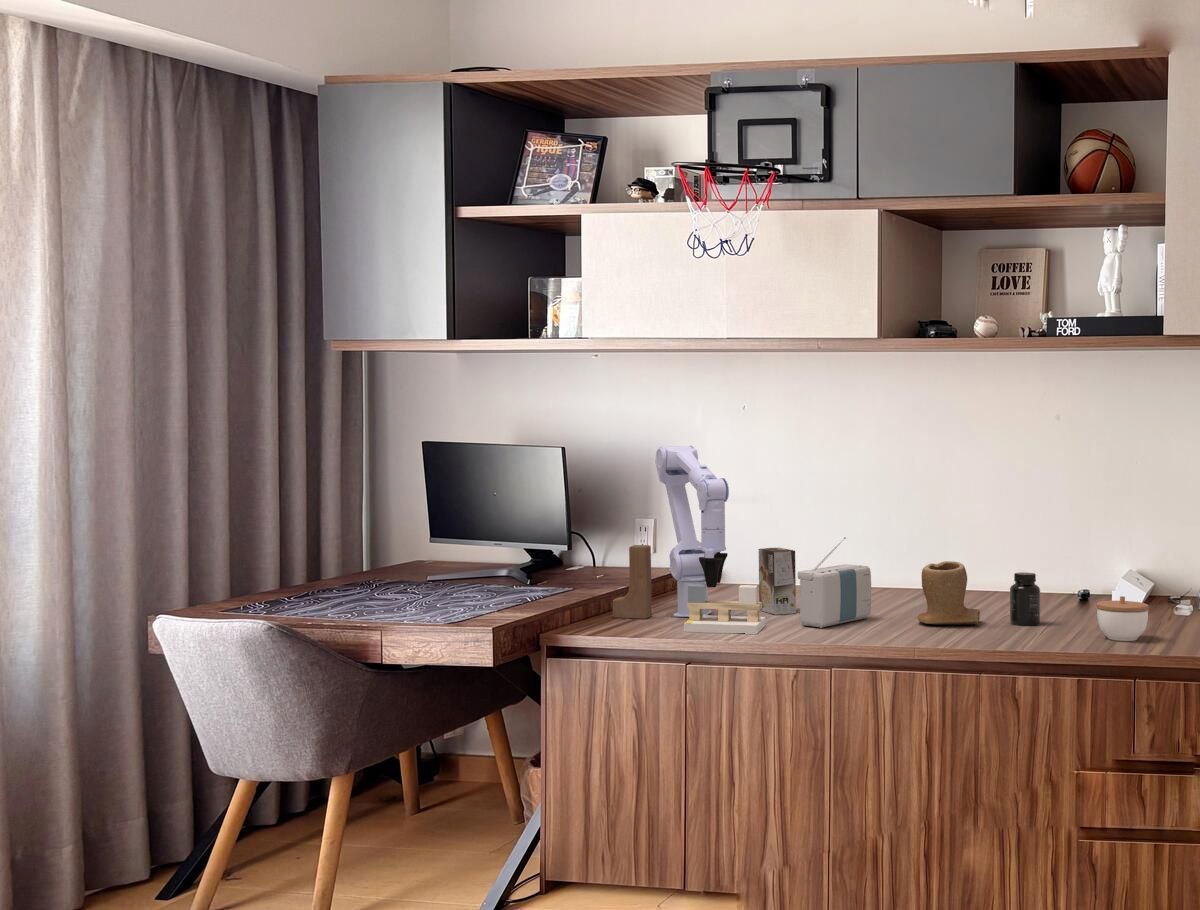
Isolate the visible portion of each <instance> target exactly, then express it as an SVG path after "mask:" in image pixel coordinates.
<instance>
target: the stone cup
mask: <svg viewBox="0 0 1200 910" xmlns="http://www.w3.org/2000/svg"><path fill="white" fill-rule="evenodd" d="M967 586H968V573H967V570H966V567H965V565H964V564H963V563H961V562H959V561H954V560H952V561H950V560H949V561H948V560H947V561H946V560H945V561H941V562H939V563H928V564H926V565H925V566H924V567H923V568H922V569H921V588H922V591H923V594H924V597H925V599H926V604H927V606H926V607H927V610H926V611H925V612H922V613H919V614H918V615H917V616H916V619H917V621H919V622H921V623H923V624H928V625H944V626H945V625H946V626H947V625H949V626H950V625H951V626H956V625H958V626H962V625H963V626H964V625H966V626H967V625H978V624H979V622H980V614H981V610H980V608H979V609H978V608H967V607H966V606H965V595H966V591H967Z"/></svg>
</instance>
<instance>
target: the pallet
mask: <svg viewBox="0 0 1200 910" xmlns="http://www.w3.org/2000/svg"><path fill="white" fill-rule="evenodd" d="M761 607H762V602H759V601H757V604H756V605H748V604H739V601H736V600H735V601H728V600H725V601H724V600H708V601H706V602H705V603H687V608H689V617H688V618H689V619H688V620H697V621H700V620H701V618H702V617H703V613H702V609H708V610H717V616H718V621H729V620H730V619H731V616H732V611H735V610H736V611H739V610H740V611H746V617H747V622H758V621H759V619H760V617H761V616H760V609H761Z"/></svg>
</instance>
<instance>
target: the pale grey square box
mask: <svg viewBox="0 0 1200 910" xmlns="http://www.w3.org/2000/svg"><path fill="white" fill-rule="evenodd" d="M705 602H706V584H689V585H688V603H705Z"/></svg>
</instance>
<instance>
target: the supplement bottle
mask: <svg viewBox="0 0 1200 910" xmlns="http://www.w3.org/2000/svg"><path fill="white" fill-rule="evenodd" d="M1013 577H1014V578H1013V582H1014V583H1013V584H1012V585H1011V586H1009V587H1010V588H1009V622H1010V624H1011V625H1014V626H1022V627H1035V626H1036V627H1037V626H1039V625H1040V624H1041V588H1040V586H1038V585H1037V584H1036V582H1037V578H1036V577H1037V574H1036V573H1035V572H1034V573H1033V572H1027V571H1026V572H1022V571H1021V572H1014V576H1013Z"/></svg>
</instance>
